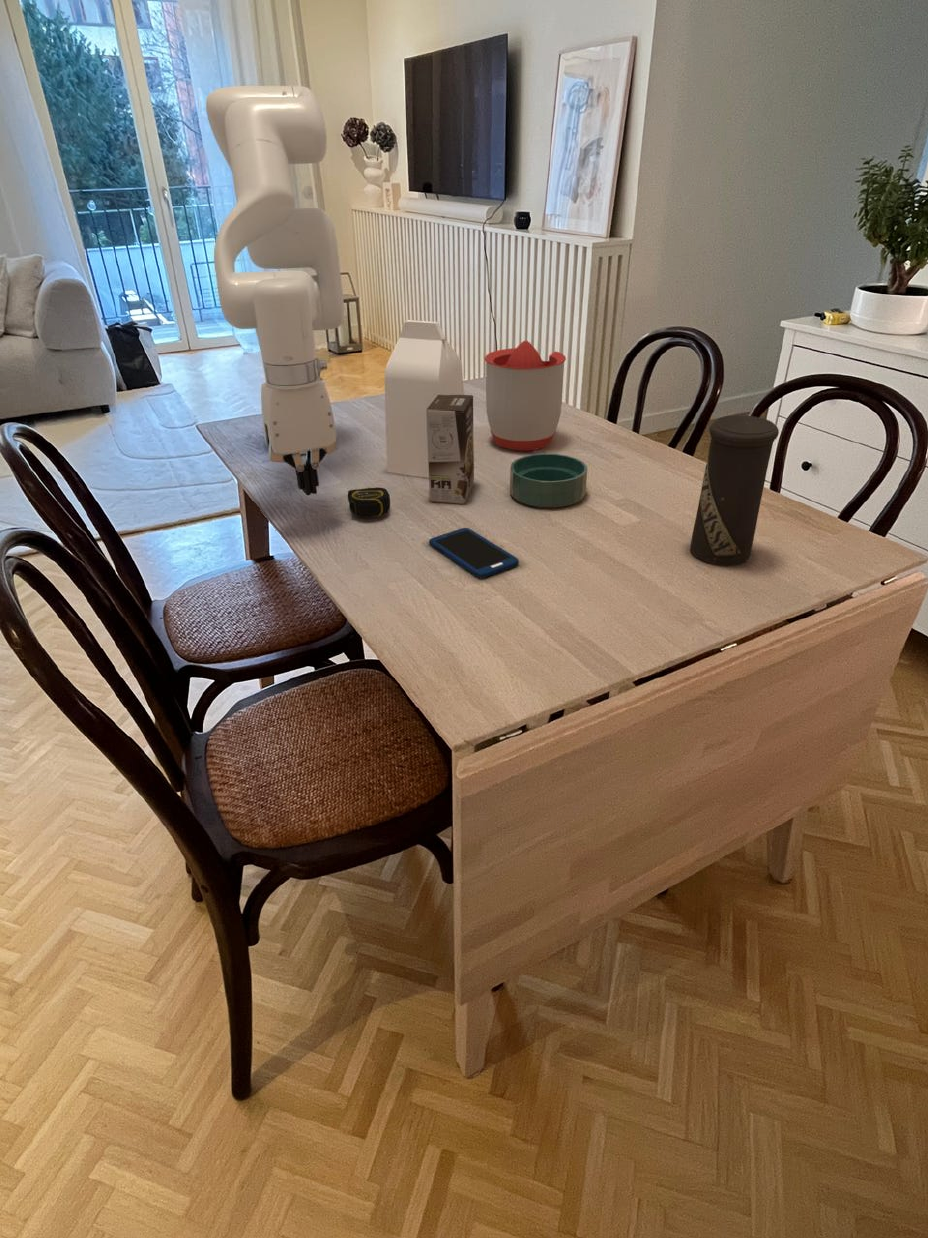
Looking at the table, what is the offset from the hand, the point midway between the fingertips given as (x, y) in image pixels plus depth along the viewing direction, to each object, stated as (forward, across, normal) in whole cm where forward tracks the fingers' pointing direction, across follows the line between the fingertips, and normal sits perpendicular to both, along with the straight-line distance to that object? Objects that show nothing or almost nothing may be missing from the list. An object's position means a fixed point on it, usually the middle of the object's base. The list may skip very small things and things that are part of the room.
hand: (309, 491), depth 115 cm
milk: (+6, -28, -14) cm, 32 cm away
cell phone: (+6, -18, +22) cm, 28 cm away
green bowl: (+6, -40, +8) cm, 41 cm away
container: (+7, -50, +40) cm, 64 cm away
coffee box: (+6, -26, 0) cm, 26 cm away
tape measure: (+6, -10, 0) cm, 11 cm away
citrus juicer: (+6, -51, -16) cm, 54 cm away
